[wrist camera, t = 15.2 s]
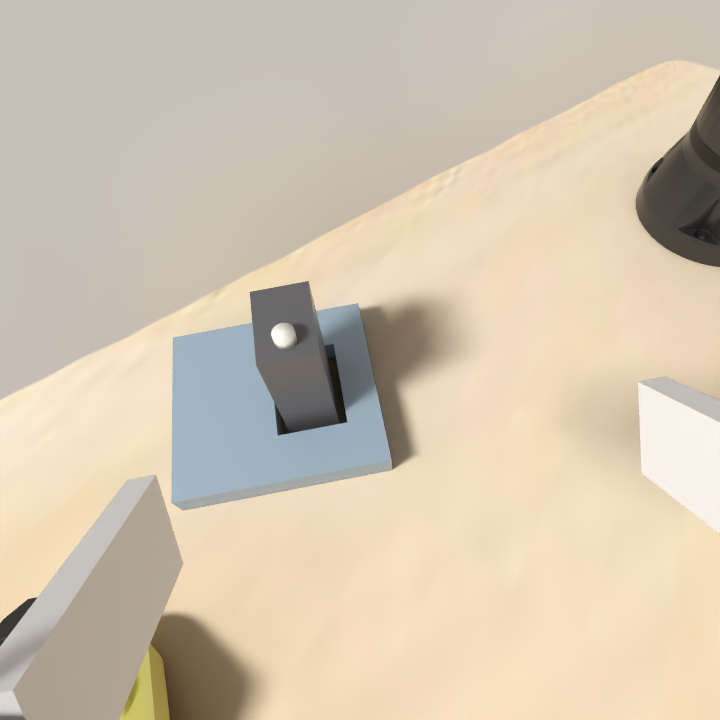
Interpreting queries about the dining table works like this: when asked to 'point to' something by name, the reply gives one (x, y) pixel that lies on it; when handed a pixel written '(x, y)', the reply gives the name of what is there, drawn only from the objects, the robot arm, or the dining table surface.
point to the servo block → (293, 356)
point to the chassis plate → (267, 418)
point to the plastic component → (148, 691)
